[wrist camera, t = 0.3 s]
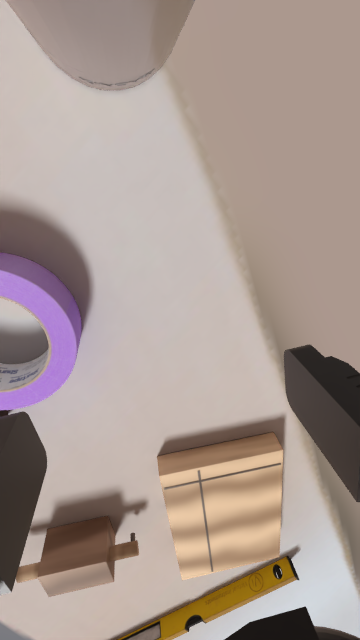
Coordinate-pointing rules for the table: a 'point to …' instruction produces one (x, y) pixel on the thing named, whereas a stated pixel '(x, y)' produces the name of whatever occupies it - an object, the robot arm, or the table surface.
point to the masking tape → (58, 323)
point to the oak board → (224, 503)
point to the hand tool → (3, 413)
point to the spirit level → (218, 602)
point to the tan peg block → (78, 557)
